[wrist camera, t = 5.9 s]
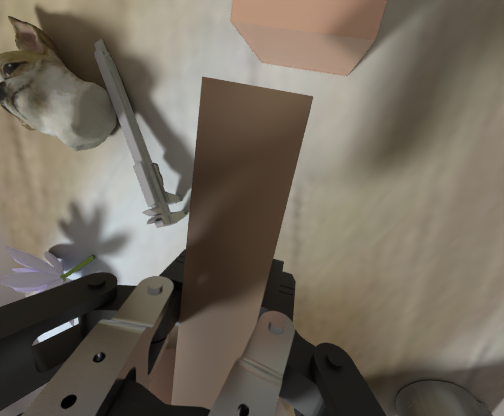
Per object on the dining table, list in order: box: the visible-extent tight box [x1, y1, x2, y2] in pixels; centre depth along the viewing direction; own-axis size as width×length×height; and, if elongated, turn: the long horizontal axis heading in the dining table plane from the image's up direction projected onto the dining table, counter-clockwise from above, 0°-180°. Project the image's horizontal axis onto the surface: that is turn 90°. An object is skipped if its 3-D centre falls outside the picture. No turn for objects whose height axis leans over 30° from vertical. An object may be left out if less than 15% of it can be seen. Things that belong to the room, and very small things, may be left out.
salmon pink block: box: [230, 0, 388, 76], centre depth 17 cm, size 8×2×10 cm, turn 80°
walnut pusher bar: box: [171, 77, 313, 410], centre depth 11 cm, size 3×16×5 cm, turn 170°
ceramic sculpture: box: [0, 16, 116, 151], centre depth 25 cm, size 11×9×15 cm
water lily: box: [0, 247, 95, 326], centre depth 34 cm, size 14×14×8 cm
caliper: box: [94, 39, 188, 228], centre depth 25 cm, size 21×1×6 cm, turn 23°
